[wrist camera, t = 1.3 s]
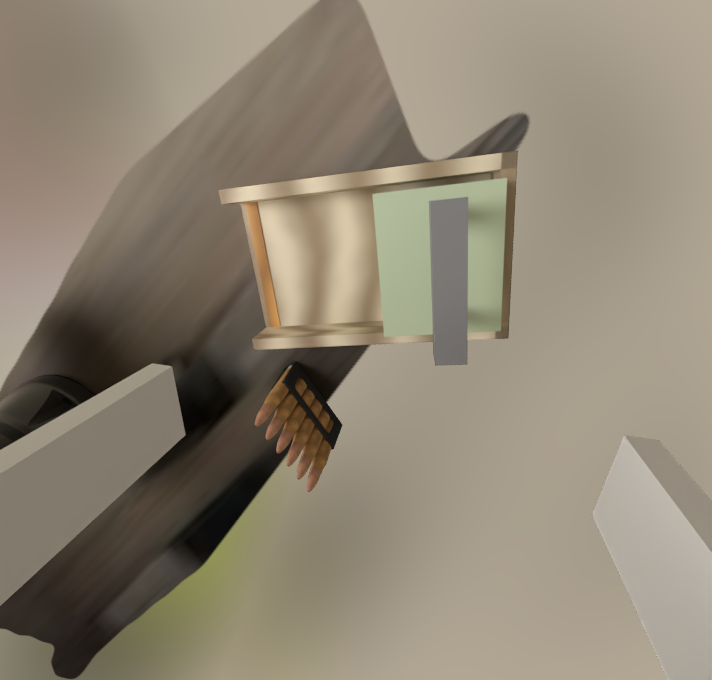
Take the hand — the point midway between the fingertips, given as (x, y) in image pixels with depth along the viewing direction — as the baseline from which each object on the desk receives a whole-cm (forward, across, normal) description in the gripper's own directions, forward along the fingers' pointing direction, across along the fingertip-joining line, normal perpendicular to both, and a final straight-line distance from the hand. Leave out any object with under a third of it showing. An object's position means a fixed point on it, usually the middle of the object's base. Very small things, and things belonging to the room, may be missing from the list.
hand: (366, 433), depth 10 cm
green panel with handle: (+28, -1, -1) cm, 28 cm away
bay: (+29, +6, 0) cm, 30 cm away
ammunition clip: (+28, +12, +18) cm, 36 cm away
